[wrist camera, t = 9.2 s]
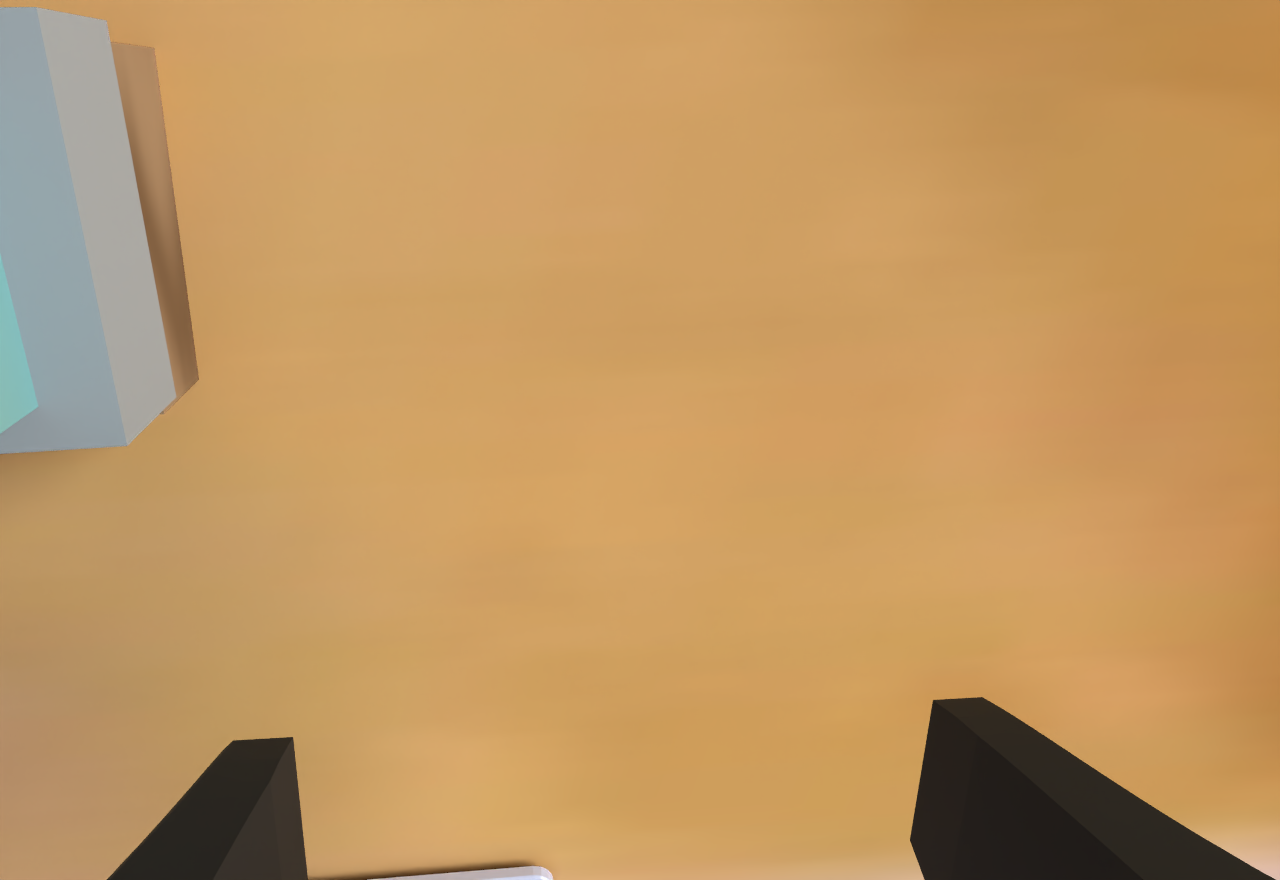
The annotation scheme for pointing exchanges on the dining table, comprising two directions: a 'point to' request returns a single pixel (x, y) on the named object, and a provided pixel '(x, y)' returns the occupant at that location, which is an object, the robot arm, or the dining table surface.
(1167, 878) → the robot arm
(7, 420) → the teal block
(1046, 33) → the dining table surface
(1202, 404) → the dining table surface
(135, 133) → the walnut base slab
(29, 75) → the slate top slab
